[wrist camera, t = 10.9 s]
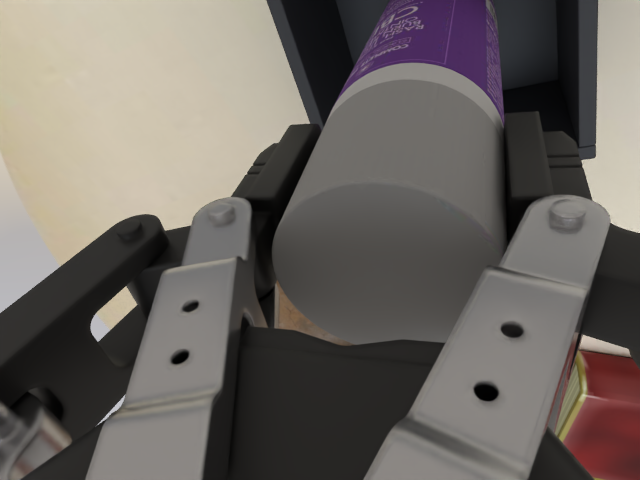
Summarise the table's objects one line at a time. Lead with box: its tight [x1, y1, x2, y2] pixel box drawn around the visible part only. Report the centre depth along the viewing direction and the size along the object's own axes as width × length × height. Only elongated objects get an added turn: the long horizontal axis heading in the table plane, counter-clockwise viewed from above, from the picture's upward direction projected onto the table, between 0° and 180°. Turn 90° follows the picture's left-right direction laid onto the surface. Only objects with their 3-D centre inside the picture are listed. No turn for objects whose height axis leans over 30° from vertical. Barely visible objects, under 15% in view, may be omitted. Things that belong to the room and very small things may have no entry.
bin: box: [267, 0, 598, 160], centre depth 21 cm, size 11×11×8 cm
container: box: [272, 0, 507, 345], centre depth 15 cm, size 5×5×15 cm
